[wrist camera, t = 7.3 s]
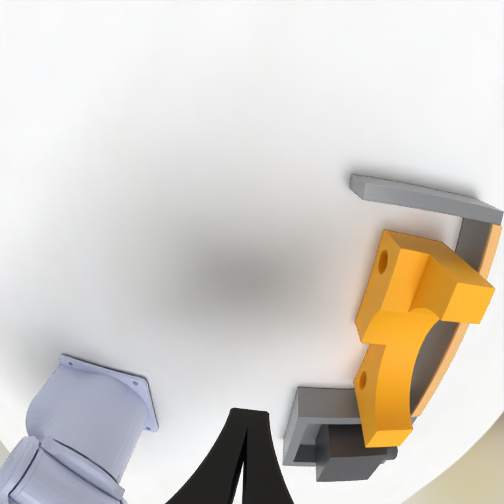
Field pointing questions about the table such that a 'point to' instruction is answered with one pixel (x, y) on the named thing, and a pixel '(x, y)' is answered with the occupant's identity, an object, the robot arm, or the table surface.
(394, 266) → the pipe clamp
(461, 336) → the grey piece
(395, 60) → the table surface
